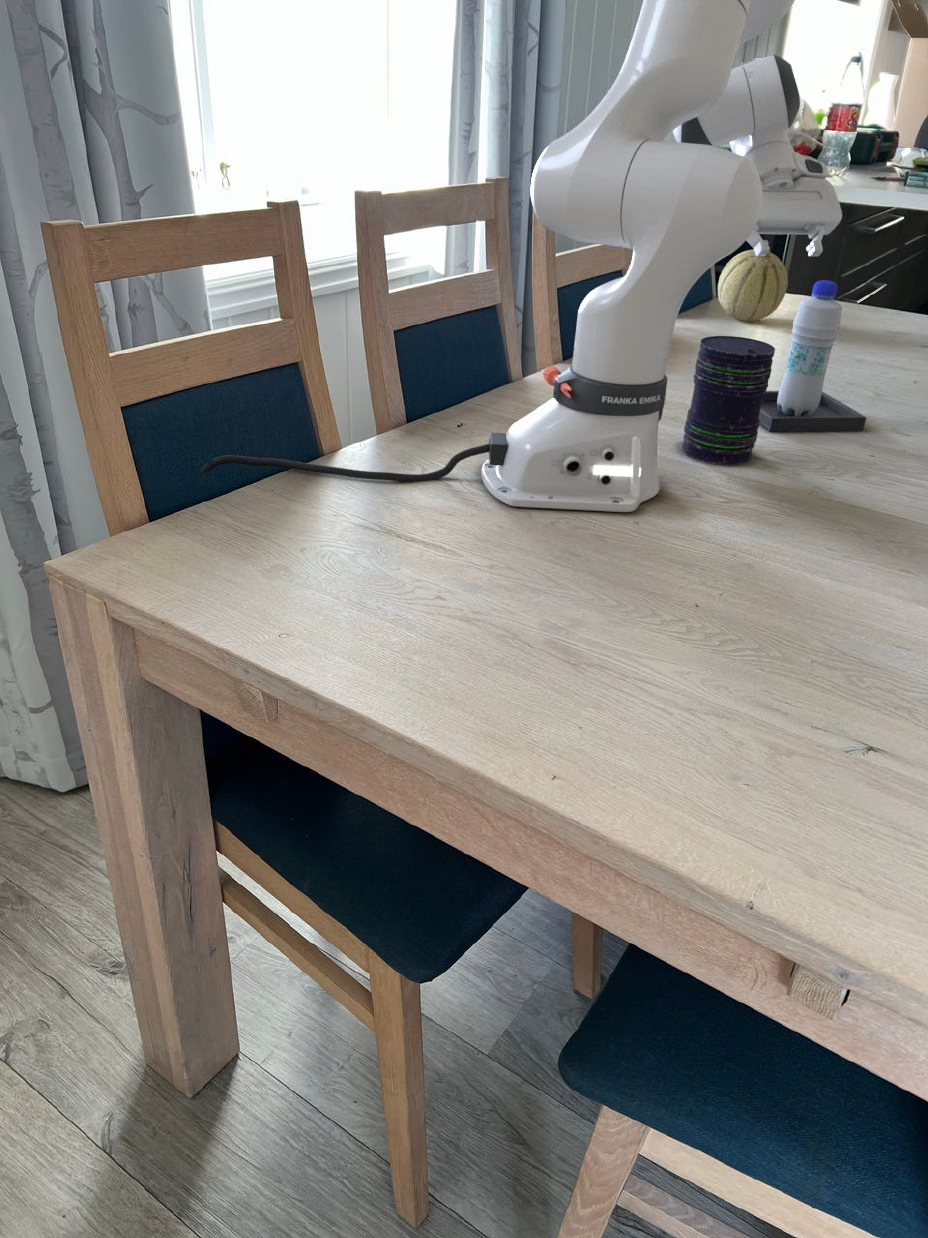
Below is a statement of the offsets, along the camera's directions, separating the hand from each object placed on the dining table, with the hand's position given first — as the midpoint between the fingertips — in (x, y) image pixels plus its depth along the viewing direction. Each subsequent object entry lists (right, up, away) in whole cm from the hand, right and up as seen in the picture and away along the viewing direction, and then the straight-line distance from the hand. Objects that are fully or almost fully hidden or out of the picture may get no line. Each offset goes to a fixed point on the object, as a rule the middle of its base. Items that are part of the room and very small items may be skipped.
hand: (789, 253), depth 146 cm
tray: (+2, -25, +2) cm, 25 cm away
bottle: (+2, -24, +2) cm, 25 cm away
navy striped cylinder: (-15, -33, -14) cm, 39 cm away
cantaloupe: (+12, +9, +62) cm, 64 cm away
